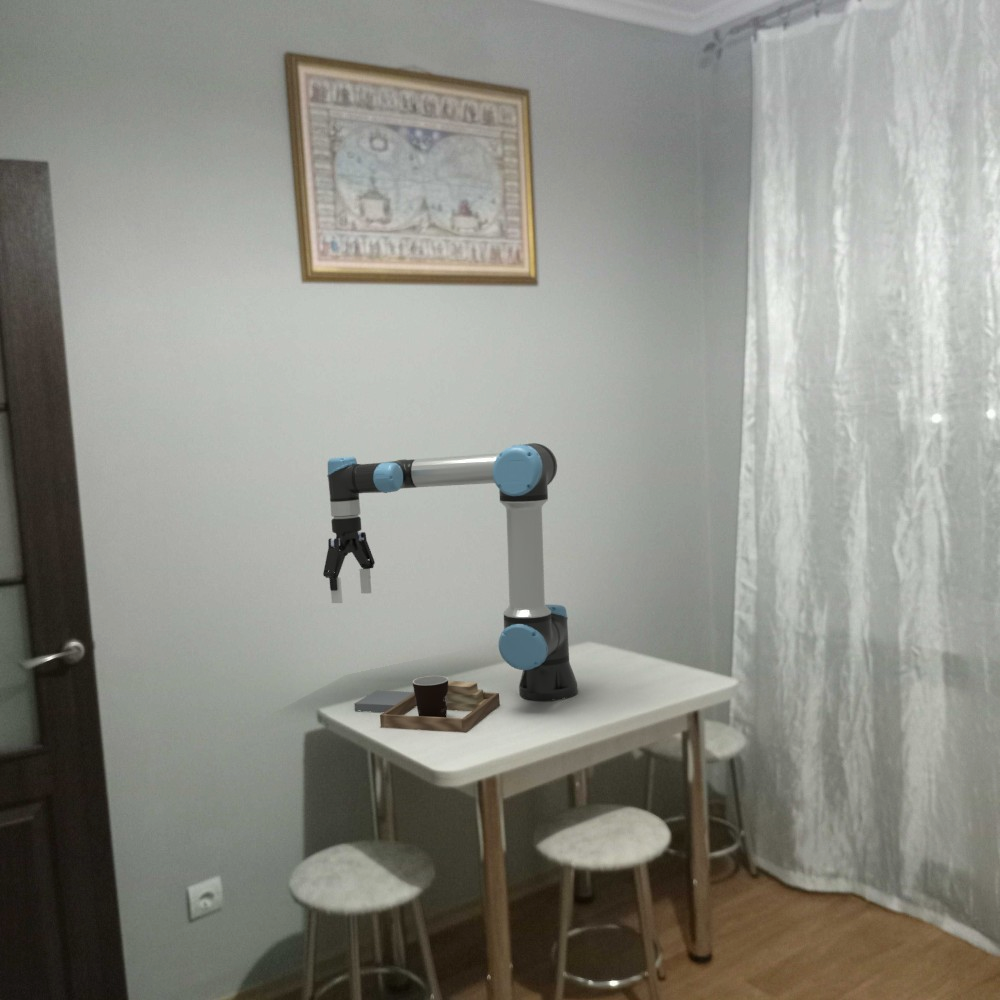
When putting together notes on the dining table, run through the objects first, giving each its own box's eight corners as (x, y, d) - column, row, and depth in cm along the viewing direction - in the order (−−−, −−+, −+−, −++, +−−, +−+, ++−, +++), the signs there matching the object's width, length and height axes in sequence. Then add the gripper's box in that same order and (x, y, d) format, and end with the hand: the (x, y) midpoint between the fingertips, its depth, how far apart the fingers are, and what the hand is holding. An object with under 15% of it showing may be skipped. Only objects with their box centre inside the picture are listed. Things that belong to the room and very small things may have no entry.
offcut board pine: (483, 698, 246) (483, 689, 246) (477, 704, 242) (476, 694, 242) (432, 696, 251) (431, 687, 251) (425, 702, 247) (424, 692, 246)
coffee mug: (437, 728, 230) (434, 686, 229) (407, 724, 235) (405, 683, 234) (465, 714, 240) (462, 674, 239) (436, 710, 244) (433, 671, 244)
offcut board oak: (490, 708, 246) (489, 699, 246) (483, 714, 241) (482, 704, 241) (431, 706, 251) (431, 696, 251) (424, 711, 247) (423, 701, 247)
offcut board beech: (477, 690, 245) (477, 682, 245) (469, 695, 242) (469, 687, 241) (443, 687, 250) (442, 680, 250) (435, 692, 246) (434, 684, 246)
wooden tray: (499, 704, 246) (499, 693, 246) (466, 732, 226) (465, 719, 226) (420, 700, 254) (419, 689, 254) (380, 727, 234) (379, 714, 233)
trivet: (418, 699, 256) (417, 692, 255) (397, 713, 244) (397, 705, 244) (377, 697, 260) (376, 690, 260) (355, 711, 249) (354, 703, 248)
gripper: (360, 512, 267) (366, 589, 269) (304, 522, 245) (311, 606, 247) (383, 511, 264) (389, 589, 266) (329, 522, 242) (336, 607, 243)
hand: (352, 598), depth 256 cm, fingers open, 13 cm apart
